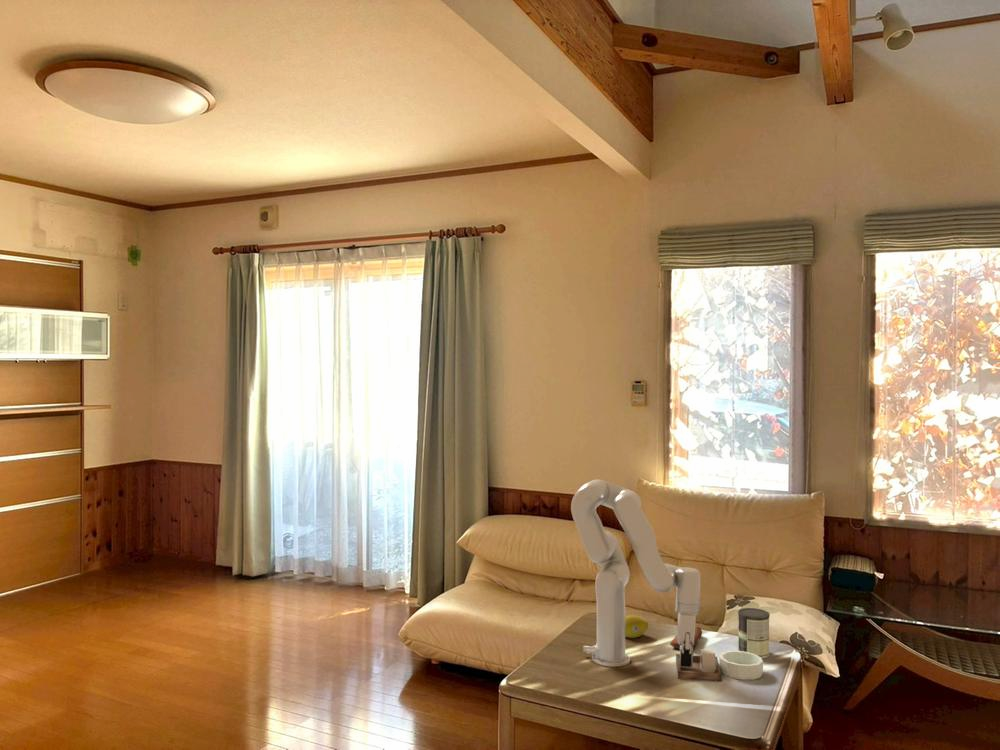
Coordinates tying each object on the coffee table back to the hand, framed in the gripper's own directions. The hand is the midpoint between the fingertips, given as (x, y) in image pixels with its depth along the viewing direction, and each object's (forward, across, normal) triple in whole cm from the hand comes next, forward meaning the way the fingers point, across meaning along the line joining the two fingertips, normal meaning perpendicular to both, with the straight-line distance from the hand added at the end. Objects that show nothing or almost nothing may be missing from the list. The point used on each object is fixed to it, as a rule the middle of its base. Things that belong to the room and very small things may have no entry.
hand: (685, 663), depth 244 cm
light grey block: (+1, 0, 0) cm, 1 cm away
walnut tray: (+2, 0, +4) cm, 4 cm away
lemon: (+3, -28, -17) cm, 33 cm away
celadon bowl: (+2, -1, +17) cm, 18 cm away
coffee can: (+2, -20, +24) cm, 31 cm away
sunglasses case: (+3, -26, 0) cm, 26 cm away
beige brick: (+2, 0, +7) cm, 7 cm away
